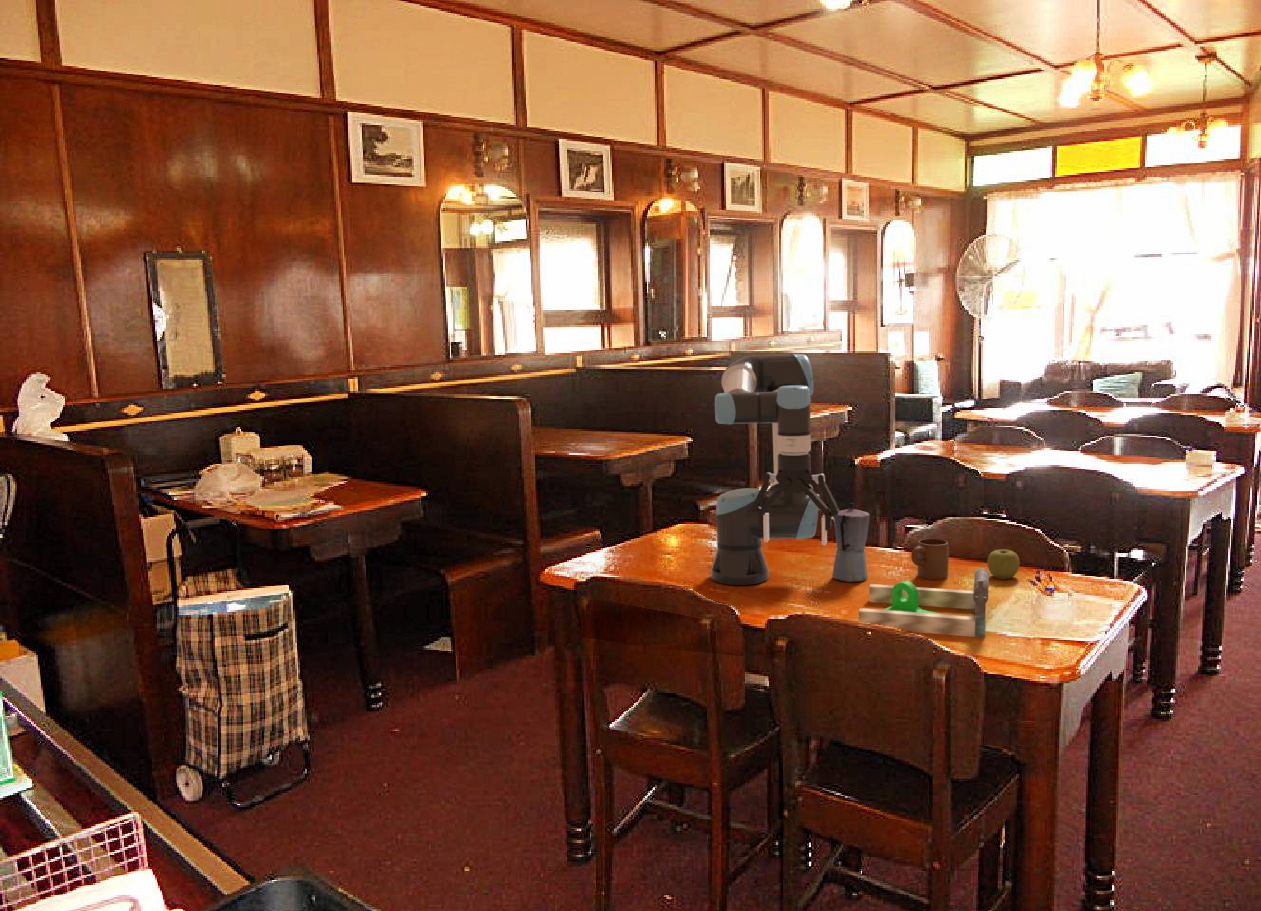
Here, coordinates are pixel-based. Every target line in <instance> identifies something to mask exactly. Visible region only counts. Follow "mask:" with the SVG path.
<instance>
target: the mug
mask: <svg viewBox="0 0 1261 911" xmlns="http://www.w3.org/2000/svg"><path fill="white" fill-rule="evenodd" d="M949 551H950V550H949V542H948V540H946V539H941V538H923V539H920V540H918V541H917V546H915V547H914V548H913V549H912V551H911V554H910V557H911V558H910V559H911V561H912V564H913V565H915V566H917V575H918V577H919V579H923V580H928V581H941V580H945V579H947V578H948V576H949Z"/></svg>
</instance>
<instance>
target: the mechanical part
mask: <svg viewBox="0 0 1261 911" xmlns="http://www.w3.org/2000/svg"><path fill="white" fill-rule="evenodd" d="M893 586H894V587H893V589H892V603H891V606H889V607H886V608H884V609H883V610H891V611H903V612H916V613H929V614H940V612H936V611H929V610H926V609H922V608H921V607H920V605H918V590H917V588H916V587H917V586H916V585H915V583H912V582H911V581H909V580H902V581H899V582H898V583H896V584H895V585H893ZM902 590H905V591H906V592H907V594H908V600H907V599H905V598H904V597H903V595H902ZM941 614H942V615H944V614H943V613H941Z"/></svg>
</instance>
